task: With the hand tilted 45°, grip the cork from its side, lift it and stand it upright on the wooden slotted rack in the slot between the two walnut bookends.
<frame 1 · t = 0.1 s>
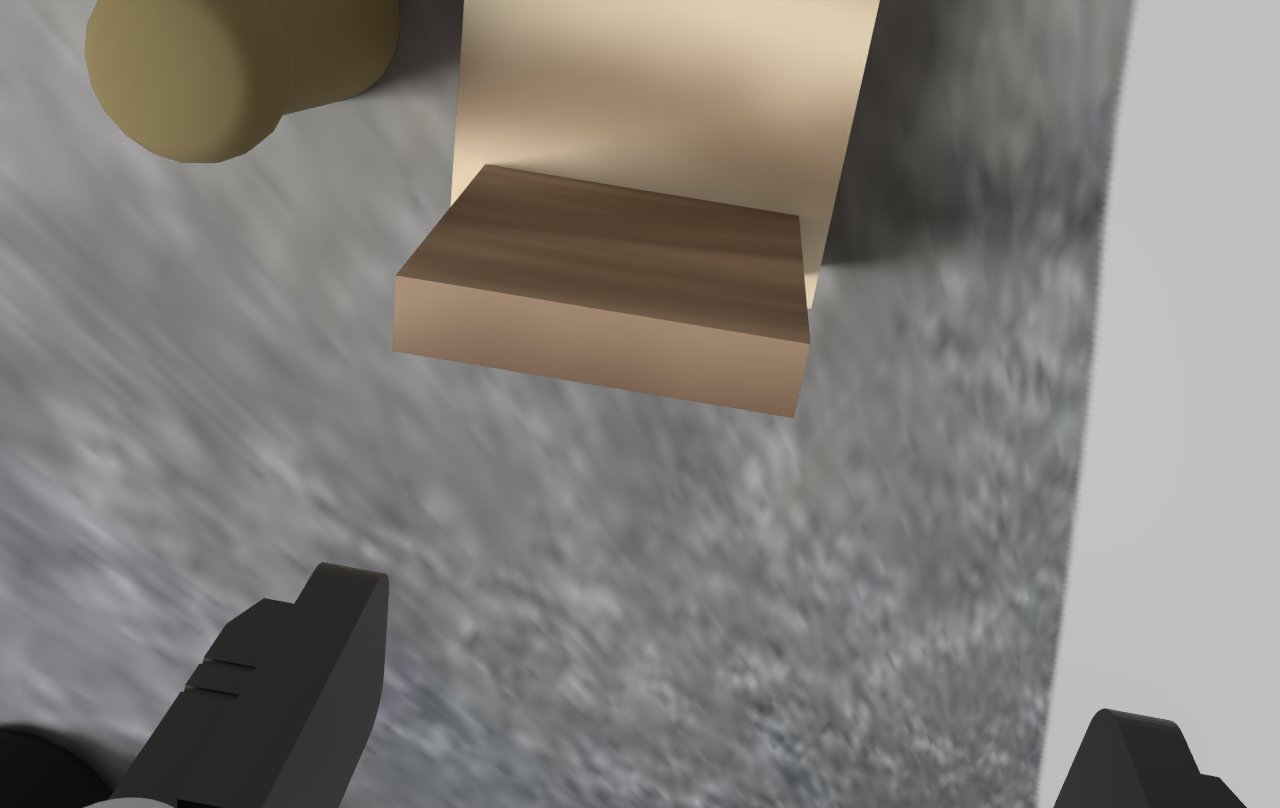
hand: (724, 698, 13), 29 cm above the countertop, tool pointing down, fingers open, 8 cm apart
coffee jar: (30, 798, 58), on the countertop
cork: (314, 10, 39), on the countertop
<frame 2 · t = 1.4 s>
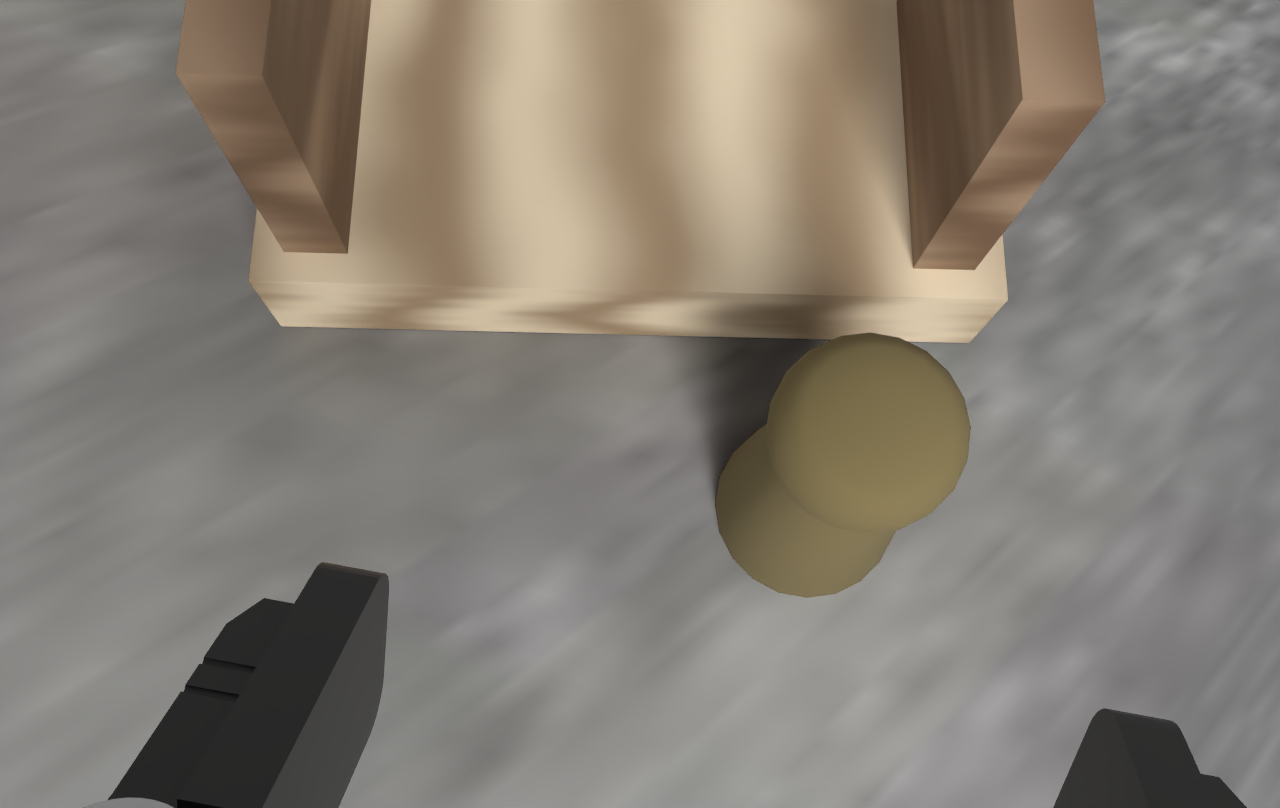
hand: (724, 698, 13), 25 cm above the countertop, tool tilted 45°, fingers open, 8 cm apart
wooden slotted rack: (630, 179, 42), on the countertop
cork: (803, 508, 39), on the countertop
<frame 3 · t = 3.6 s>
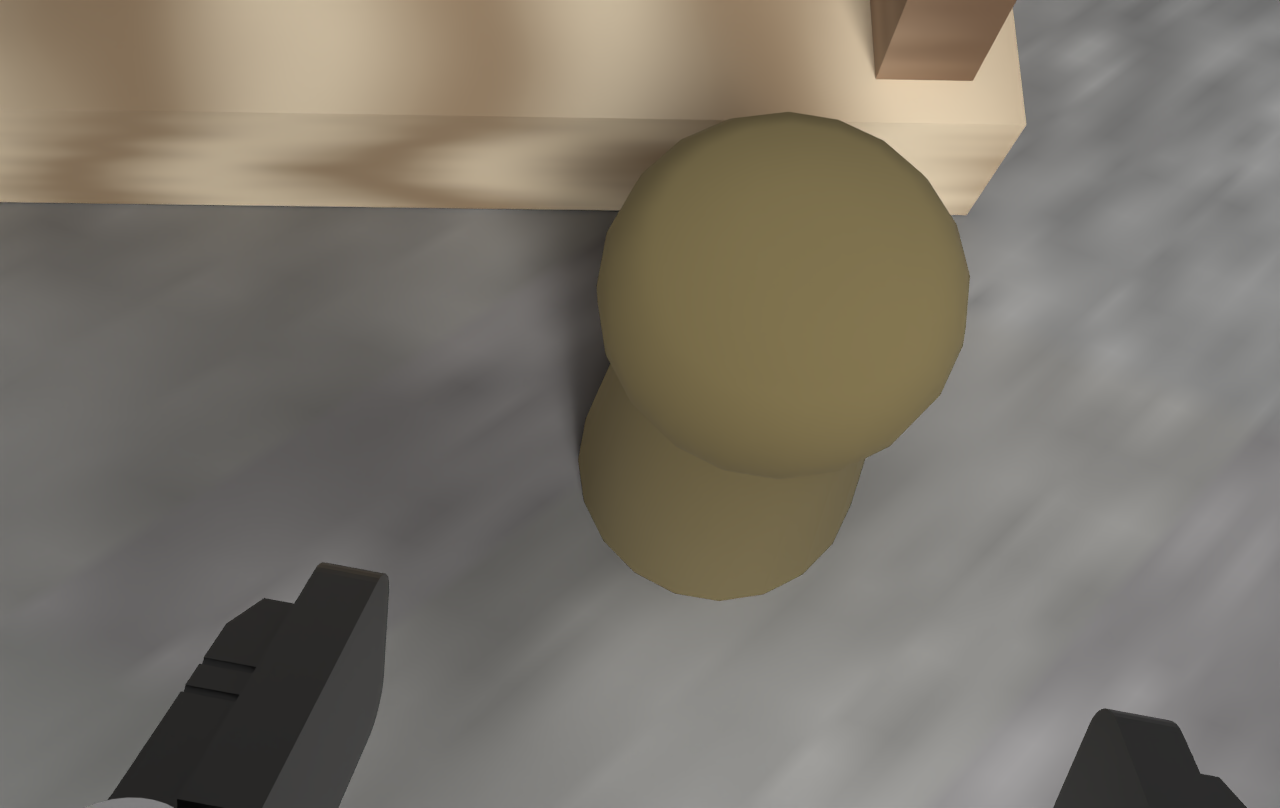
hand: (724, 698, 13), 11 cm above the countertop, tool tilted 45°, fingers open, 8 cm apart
cork: (716, 463, 26), on the countertop
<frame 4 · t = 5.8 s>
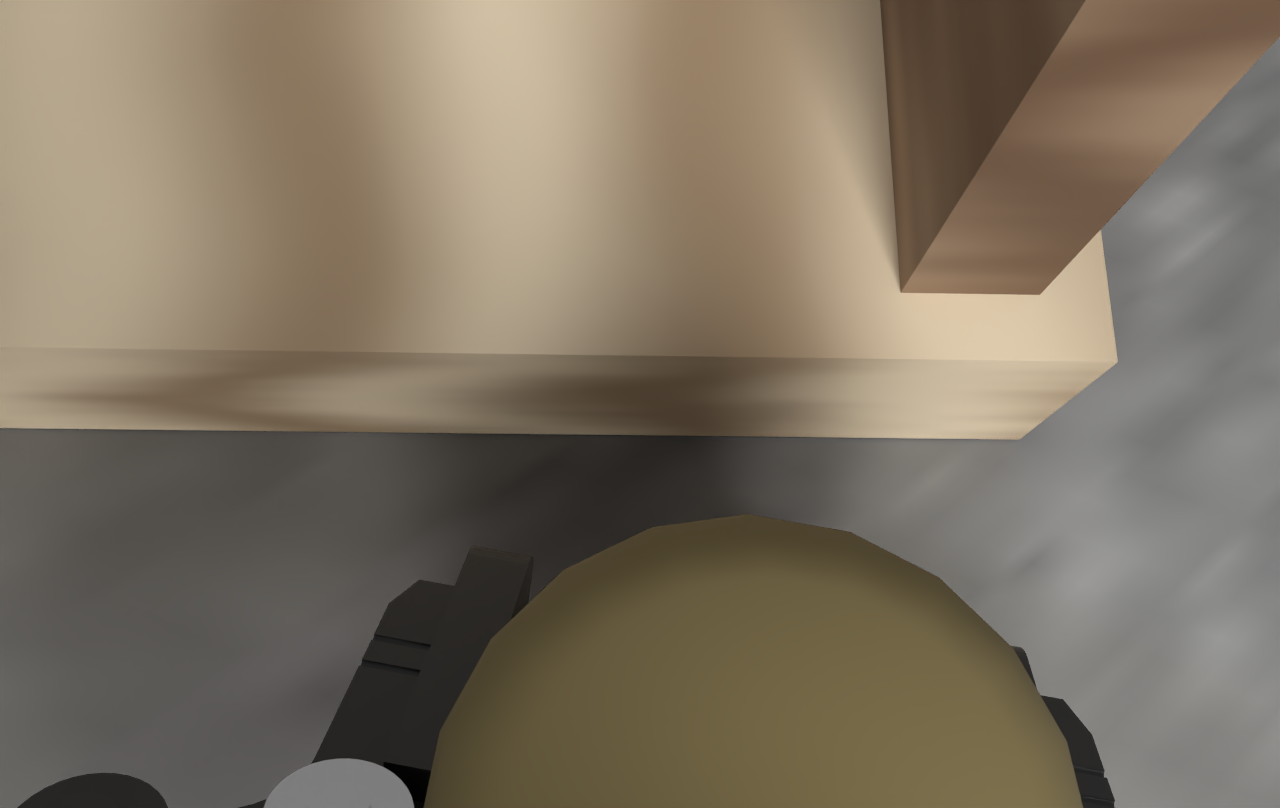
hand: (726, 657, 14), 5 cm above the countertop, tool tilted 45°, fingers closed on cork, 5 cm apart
wooden slotted rack: (346, 120, 22), on the countertop
cork: (674, 806, 18), on the countertop, touching gripper
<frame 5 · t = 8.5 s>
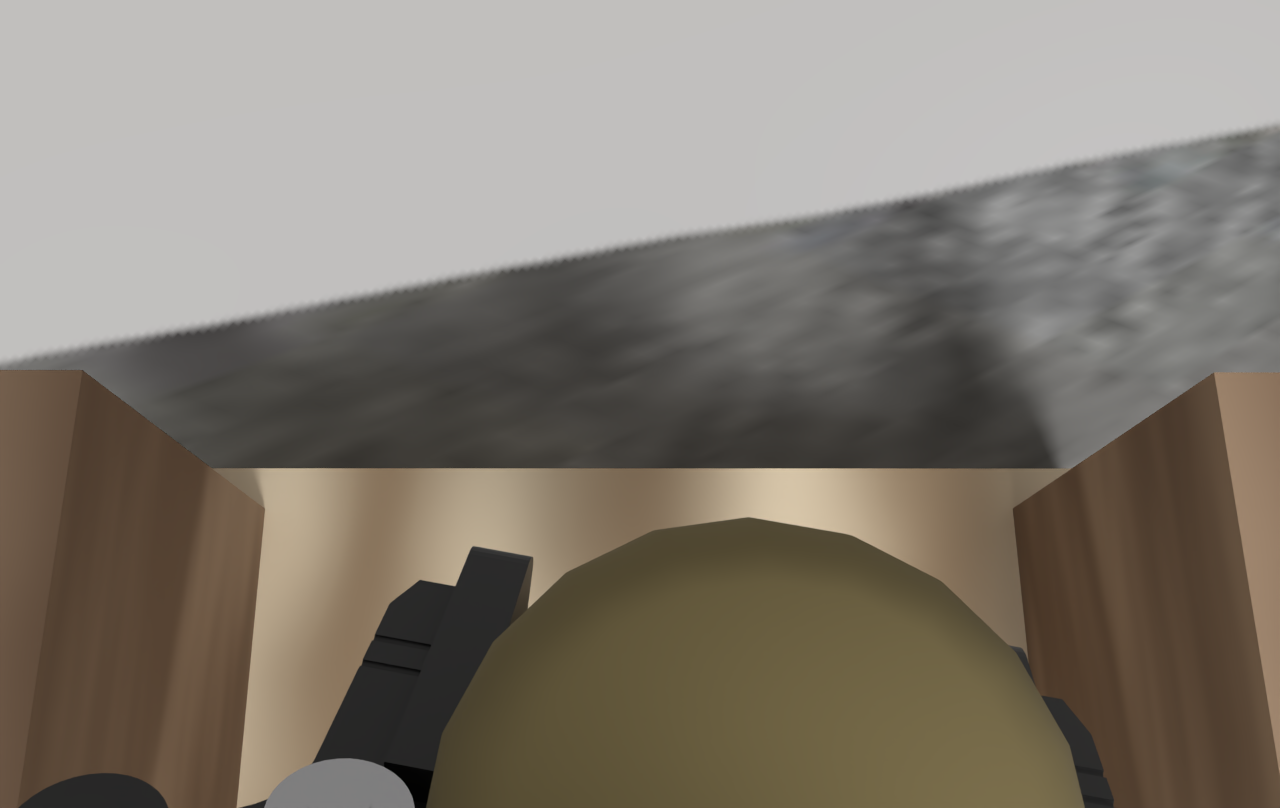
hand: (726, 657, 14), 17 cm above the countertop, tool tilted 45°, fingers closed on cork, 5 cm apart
wooden slotted rack: (639, 730, 30), on the countertop
when the fingers open (10 cm above the countertop, at t = 11.0 s): cork drops 1 cm, resting on wooden slotted rack.
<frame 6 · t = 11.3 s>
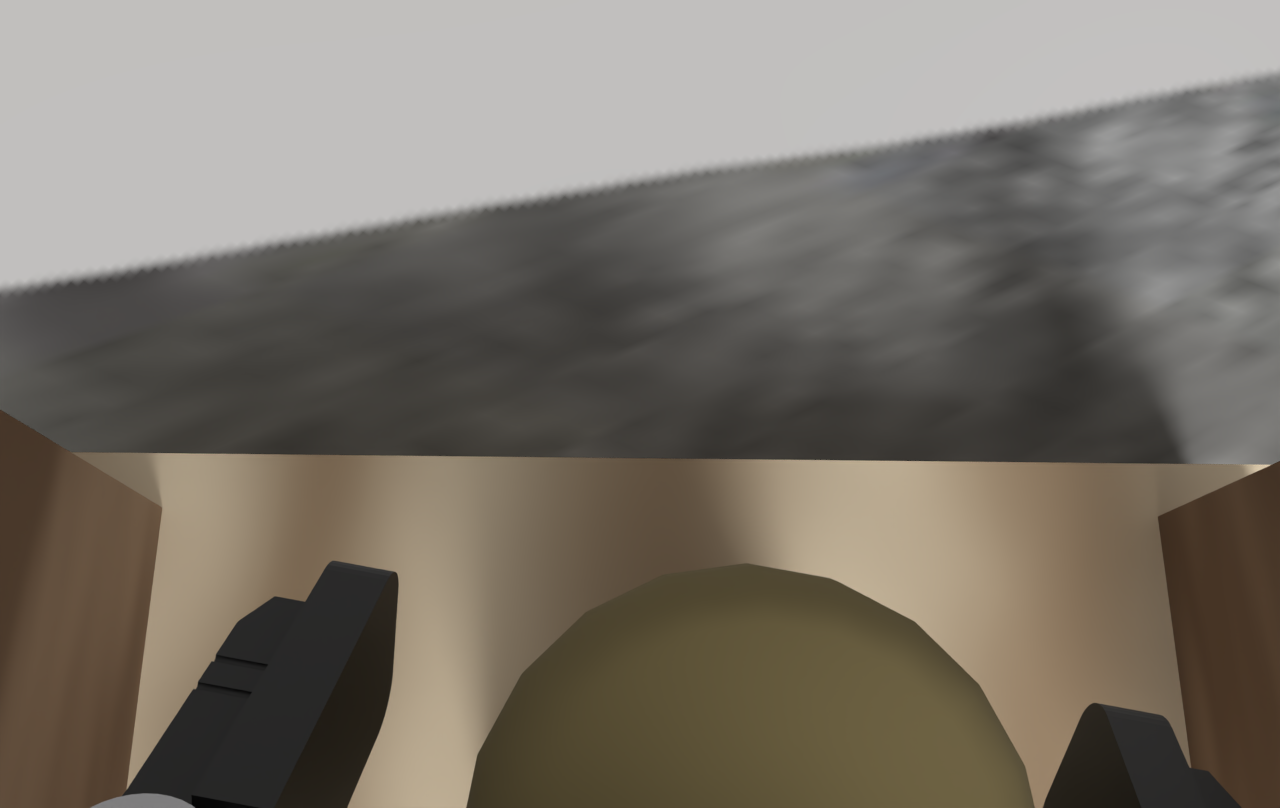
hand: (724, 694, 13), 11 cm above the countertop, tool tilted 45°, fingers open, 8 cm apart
wooden slotted rack: (656, 799, 23), on the countertop
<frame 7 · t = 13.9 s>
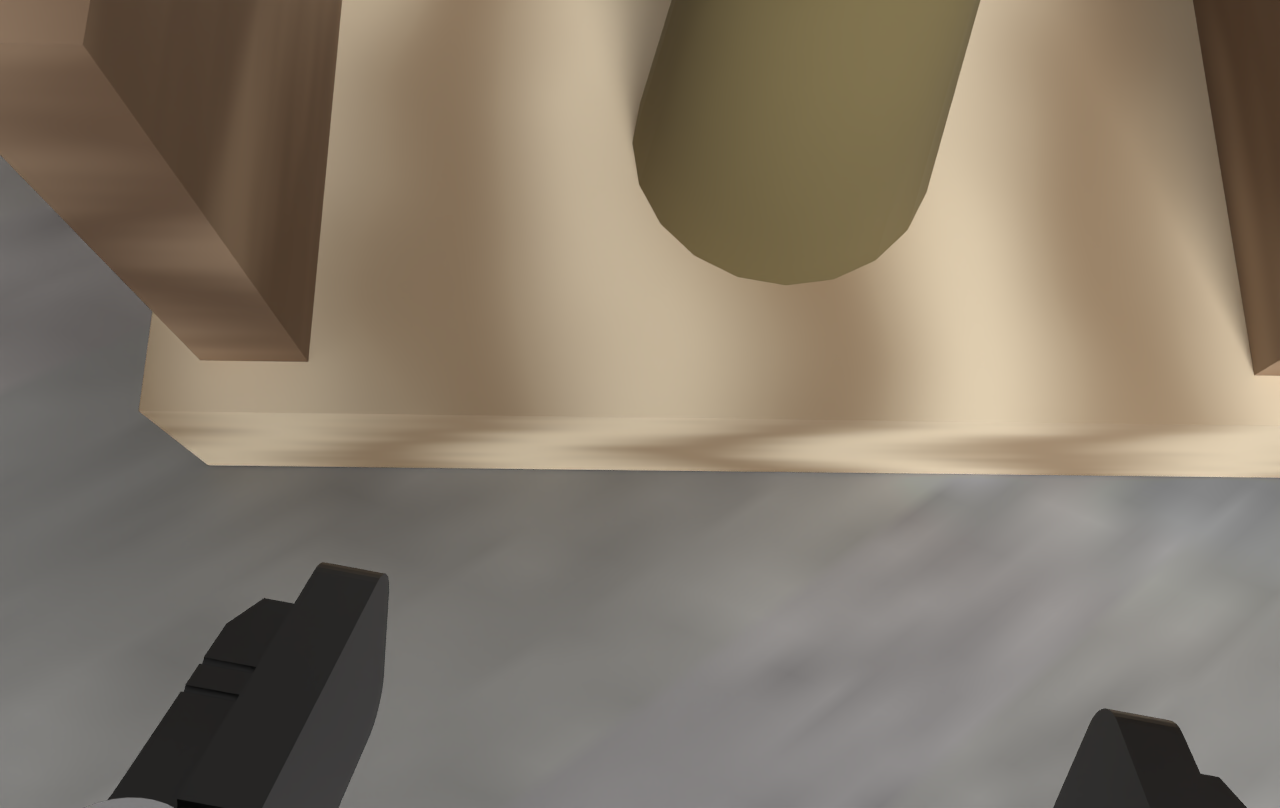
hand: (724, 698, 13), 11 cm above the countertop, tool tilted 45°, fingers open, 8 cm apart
wooden slotted rack: (753, 223, 27), on the countertop
cork: (780, 151, 24), point 4 cm above the countertop, touching wooden slotted rack
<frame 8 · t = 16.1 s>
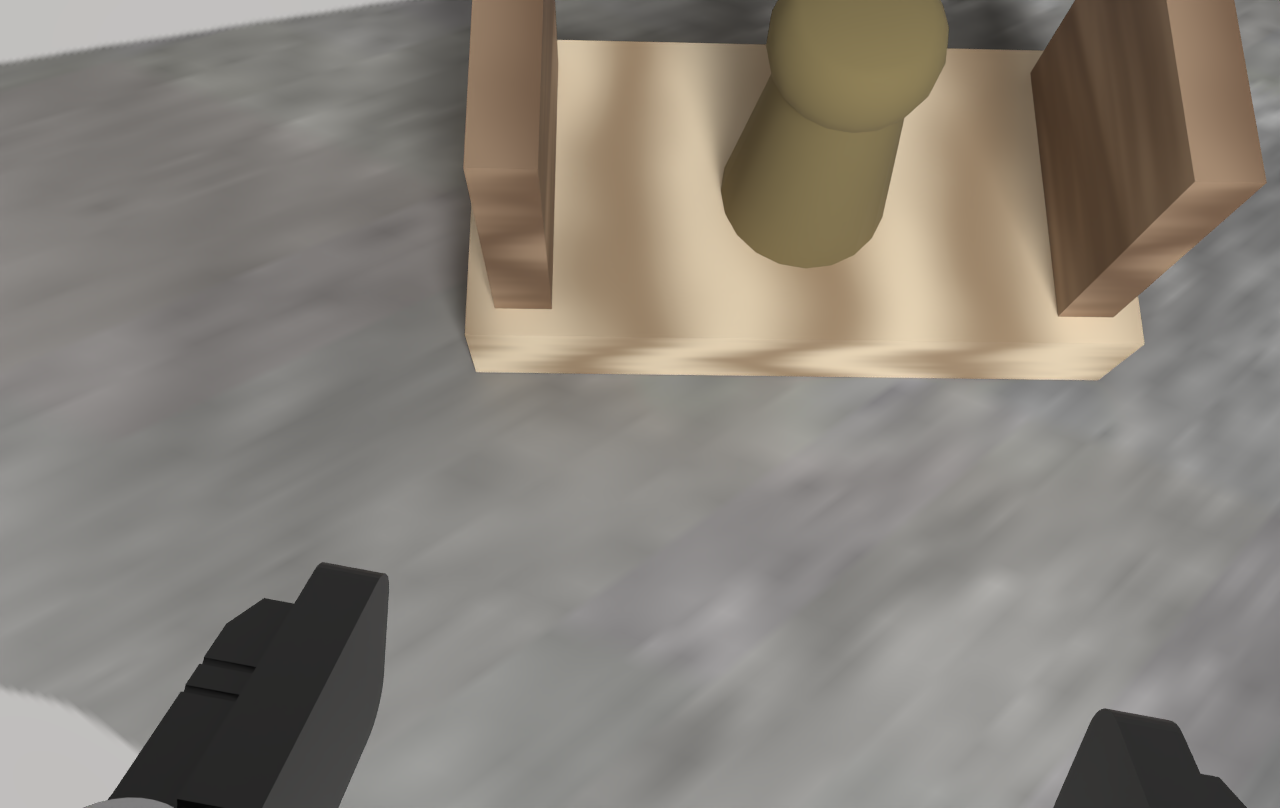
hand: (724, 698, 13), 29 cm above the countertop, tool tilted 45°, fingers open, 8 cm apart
wooden slotted rack: (784, 233, 47), on the countertop
cork: (802, 195, 43), point 4 cm above the countertop, touching wooden slotted rack
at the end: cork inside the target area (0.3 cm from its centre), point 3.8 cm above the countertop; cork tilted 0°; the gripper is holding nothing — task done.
